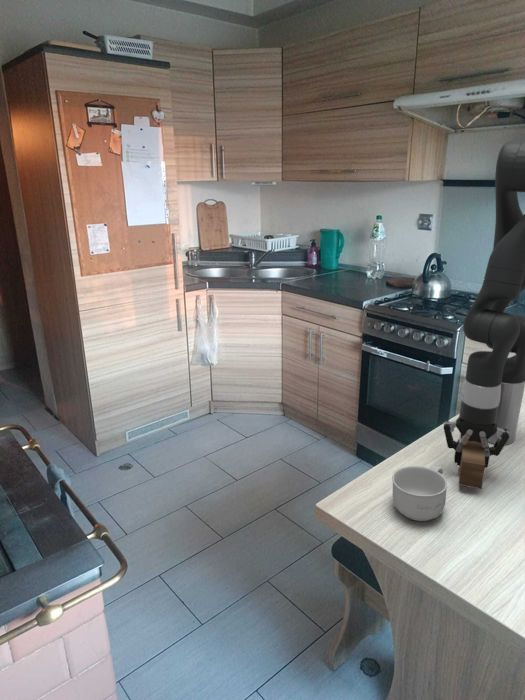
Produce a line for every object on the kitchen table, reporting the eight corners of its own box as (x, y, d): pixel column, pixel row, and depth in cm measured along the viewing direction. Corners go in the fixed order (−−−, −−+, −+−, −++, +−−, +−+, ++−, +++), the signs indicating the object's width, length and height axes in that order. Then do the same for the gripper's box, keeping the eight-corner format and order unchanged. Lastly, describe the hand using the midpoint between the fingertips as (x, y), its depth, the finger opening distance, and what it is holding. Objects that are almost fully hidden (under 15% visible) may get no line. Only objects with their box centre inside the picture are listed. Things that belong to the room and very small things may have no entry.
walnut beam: (459, 451, 120) (462, 429, 118) (479, 454, 119) (482, 432, 117) (459, 484, 108) (462, 461, 106) (481, 488, 107) (485, 465, 105)
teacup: (418, 536, 97) (422, 502, 94) (378, 506, 105) (381, 474, 102) (464, 510, 103) (469, 478, 101) (423, 484, 112) (427, 453, 109)
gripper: (515, 396, 108) (503, 462, 114) (445, 387, 113) (438, 451, 119) (518, 412, 101) (505, 481, 108) (444, 402, 106) (436, 469, 112)
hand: (470, 465), depth 113 cm, fingers closed on walnut beam, 4 cm apart
